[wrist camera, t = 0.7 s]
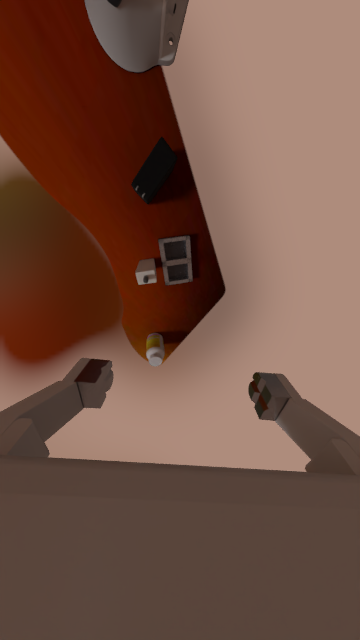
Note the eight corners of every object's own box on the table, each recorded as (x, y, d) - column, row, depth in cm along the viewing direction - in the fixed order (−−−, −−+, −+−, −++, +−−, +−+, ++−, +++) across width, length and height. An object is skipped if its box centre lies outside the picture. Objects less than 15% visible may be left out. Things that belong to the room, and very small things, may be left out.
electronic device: (173, 170, 40) (178, 156, 31) (148, 205, 43) (147, 201, 34) (160, 153, 38) (162, 134, 29) (135, 191, 41) (130, 183, 32)
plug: (141, 270, 51) (137, 289, 37) (139, 260, 50) (134, 276, 35) (155, 268, 52) (156, 286, 37) (153, 258, 50) (154, 273, 36)
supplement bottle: (143, 338, 66) (141, 361, 55) (155, 329, 64) (156, 351, 53) (154, 347, 69) (154, 370, 58) (166, 339, 68) (168, 361, 57)
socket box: (165, 282, 55) (165, 285, 52) (158, 238, 47) (158, 239, 45) (190, 278, 55) (192, 281, 53) (187, 234, 48) (189, 235, 45)
